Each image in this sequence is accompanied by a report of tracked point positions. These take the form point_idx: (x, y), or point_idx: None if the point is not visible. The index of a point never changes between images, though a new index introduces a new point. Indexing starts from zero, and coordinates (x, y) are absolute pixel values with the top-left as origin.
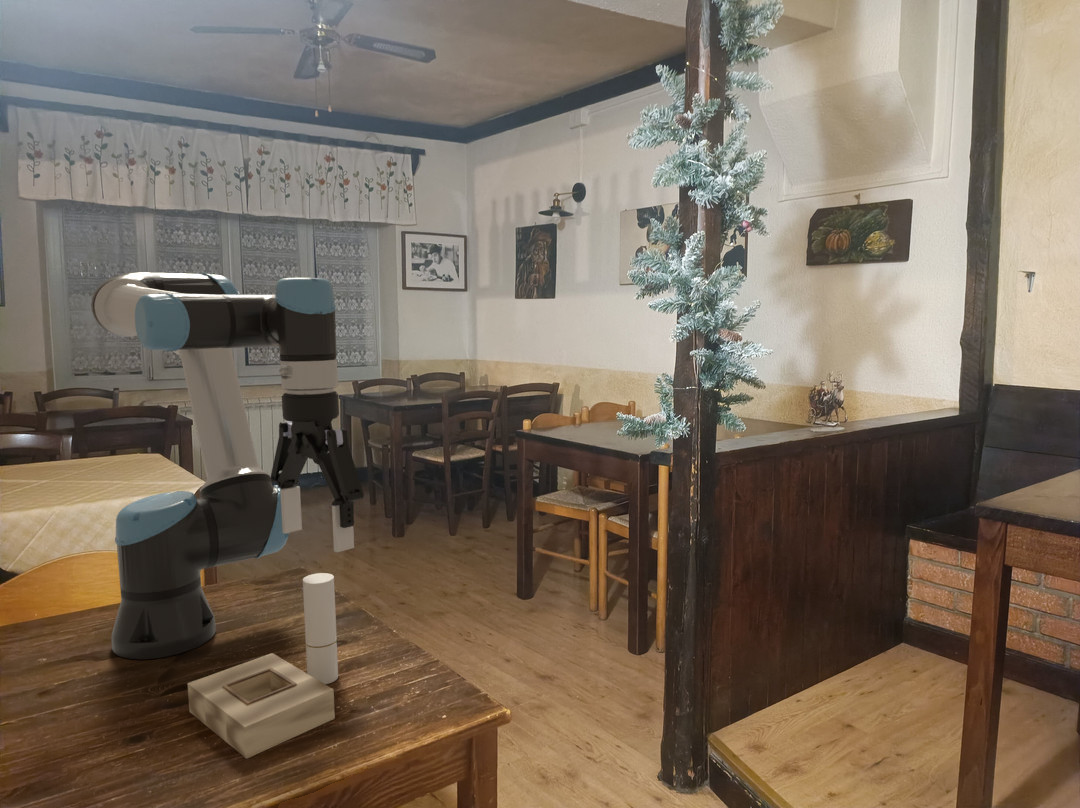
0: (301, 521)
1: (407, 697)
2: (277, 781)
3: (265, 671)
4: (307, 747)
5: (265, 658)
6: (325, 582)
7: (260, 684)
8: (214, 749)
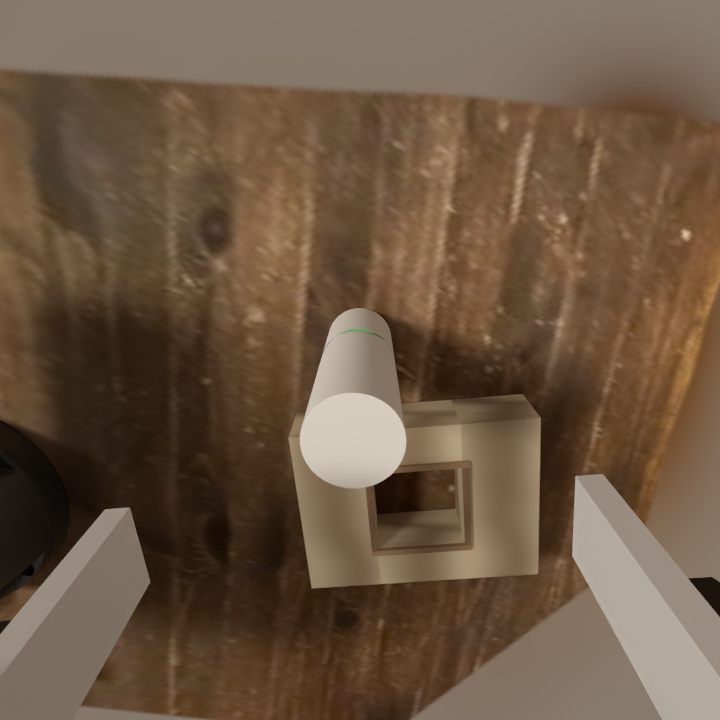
0: (108, 534)
1: (565, 249)
2: None
3: None
4: (566, 463)
5: None
6: (405, 440)
7: None
8: None
